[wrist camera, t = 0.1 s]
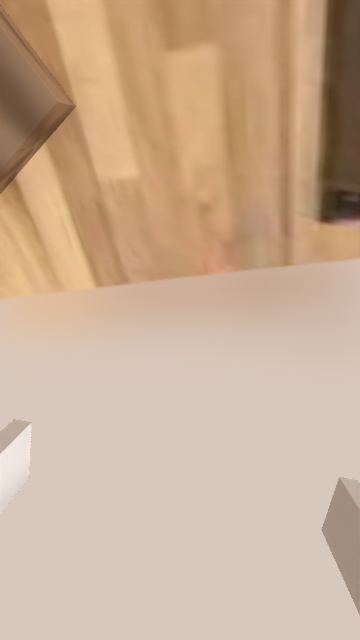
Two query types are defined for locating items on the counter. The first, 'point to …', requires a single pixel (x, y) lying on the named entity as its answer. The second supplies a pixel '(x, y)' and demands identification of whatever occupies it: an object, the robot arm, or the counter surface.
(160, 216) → the counter surface
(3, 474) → the robot arm
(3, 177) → the stand
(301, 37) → the counter surface
